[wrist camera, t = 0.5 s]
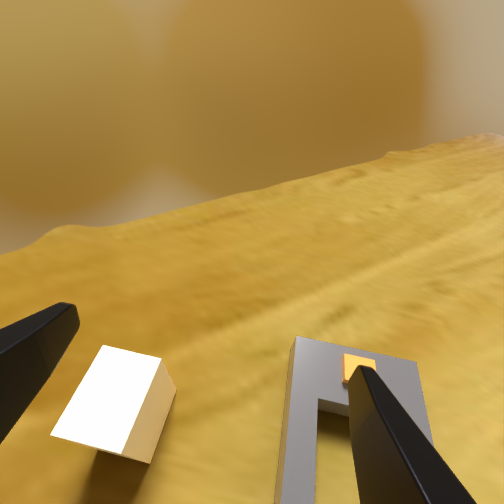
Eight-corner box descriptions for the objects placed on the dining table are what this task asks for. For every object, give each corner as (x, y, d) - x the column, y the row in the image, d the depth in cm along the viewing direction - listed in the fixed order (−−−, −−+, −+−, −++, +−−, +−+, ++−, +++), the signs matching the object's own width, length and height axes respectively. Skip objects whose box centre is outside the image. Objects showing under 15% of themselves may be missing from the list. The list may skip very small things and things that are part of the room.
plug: (150, 464, 19) (120, 453, 14) (97, 449, 20) (50, 434, 14) (176, 389, 22) (161, 358, 17) (131, 378, 23) (103, 345, 18)
